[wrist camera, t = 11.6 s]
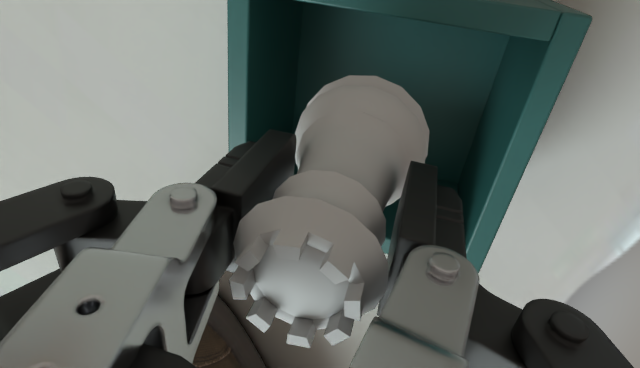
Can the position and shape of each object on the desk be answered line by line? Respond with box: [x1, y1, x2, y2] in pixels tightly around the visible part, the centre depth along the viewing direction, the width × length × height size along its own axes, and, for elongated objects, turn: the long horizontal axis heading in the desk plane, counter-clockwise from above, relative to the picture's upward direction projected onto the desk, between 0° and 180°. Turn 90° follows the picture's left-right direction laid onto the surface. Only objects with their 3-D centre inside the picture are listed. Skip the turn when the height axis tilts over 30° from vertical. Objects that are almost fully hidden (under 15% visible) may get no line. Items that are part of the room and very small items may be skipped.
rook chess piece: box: [229, 75, 429, 348], centre depth 10 cm, size 4×4×8 cm
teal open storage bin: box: [228, 0, 592, 273], centre depth 16 cm, size 11×10×7 cm
